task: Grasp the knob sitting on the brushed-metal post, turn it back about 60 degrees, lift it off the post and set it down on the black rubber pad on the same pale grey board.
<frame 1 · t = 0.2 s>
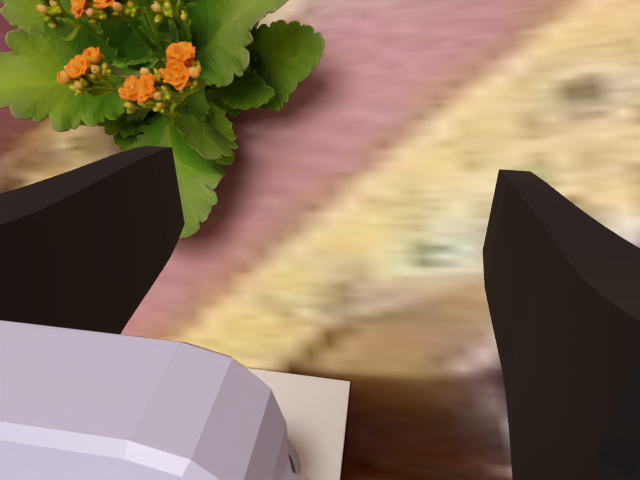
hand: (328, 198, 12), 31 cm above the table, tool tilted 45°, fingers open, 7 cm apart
potted flower: (181, 89, 49), on the table
board: (208, 465, 41), on the table
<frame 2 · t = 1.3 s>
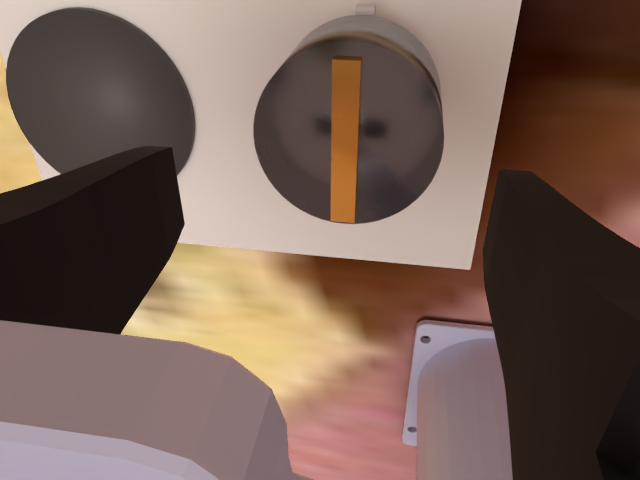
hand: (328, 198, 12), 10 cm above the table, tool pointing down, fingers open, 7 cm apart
board: (244, 88, 22), on the table
knob: (359, 99, 17), point 4 cm above the table, touching board
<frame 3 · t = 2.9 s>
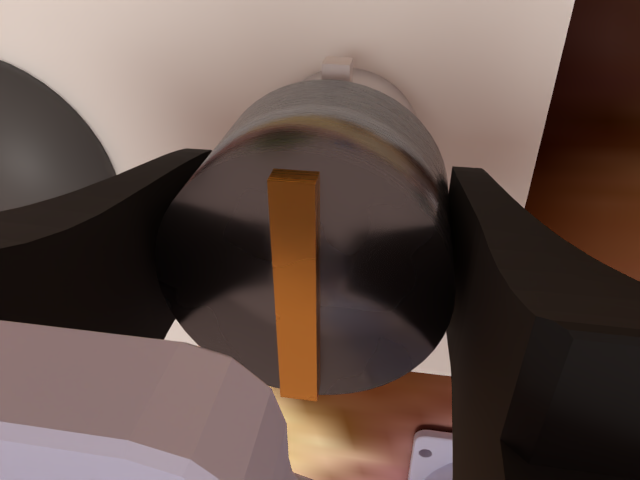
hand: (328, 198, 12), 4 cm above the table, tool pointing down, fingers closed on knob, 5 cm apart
board: (184, 154, 16), on the table
knob: (329, 194, 12), point 4 cm above the table, touching board, gripper
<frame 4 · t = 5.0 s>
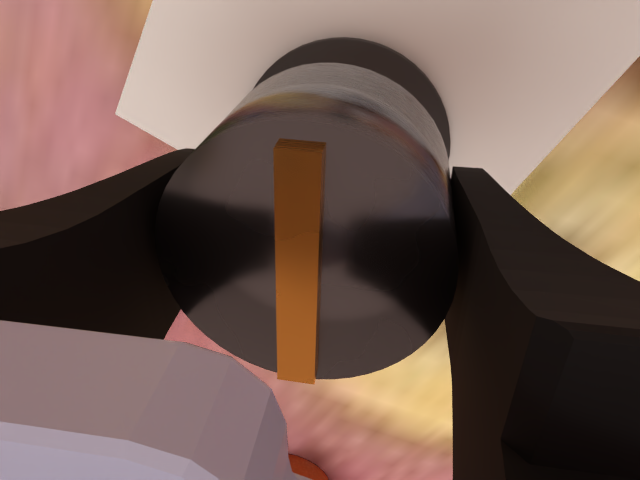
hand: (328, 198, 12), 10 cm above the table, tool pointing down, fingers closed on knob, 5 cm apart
knob: (330, 180, 12), point 9 cm above the table, touching gripper
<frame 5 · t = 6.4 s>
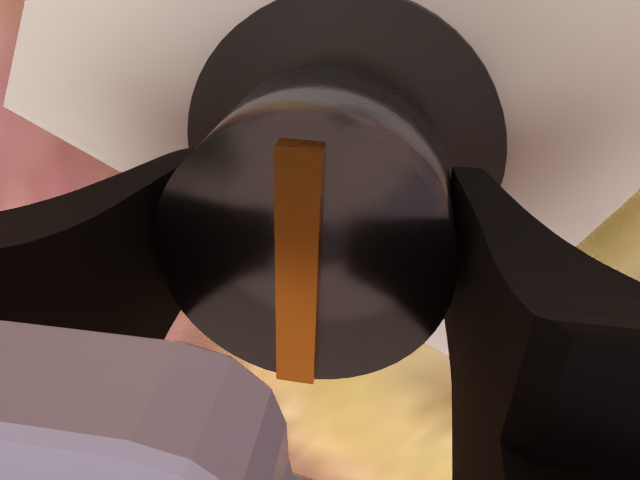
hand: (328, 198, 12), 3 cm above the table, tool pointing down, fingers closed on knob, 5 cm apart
knob: (330, 181, 12), point 3 cm above the table, touching gripper
when the fingers open (3 cm above the table, at t = 7.4 s): knob drops 1 cm, resting on board.
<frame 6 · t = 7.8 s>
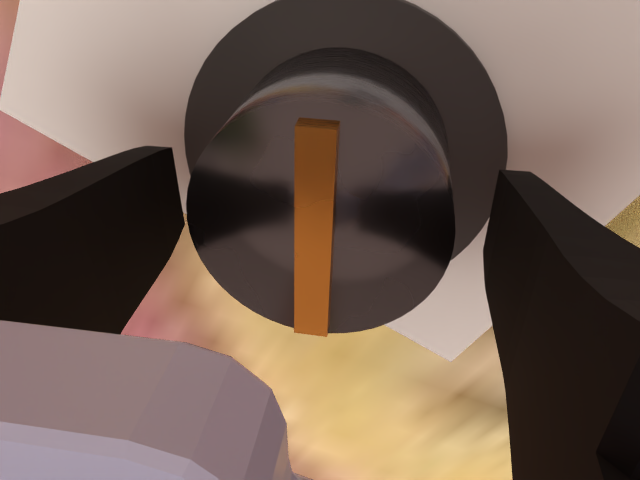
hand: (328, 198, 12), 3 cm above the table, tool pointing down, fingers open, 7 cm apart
knob: (339, 156, 13), point 1 cm above the table, touching board
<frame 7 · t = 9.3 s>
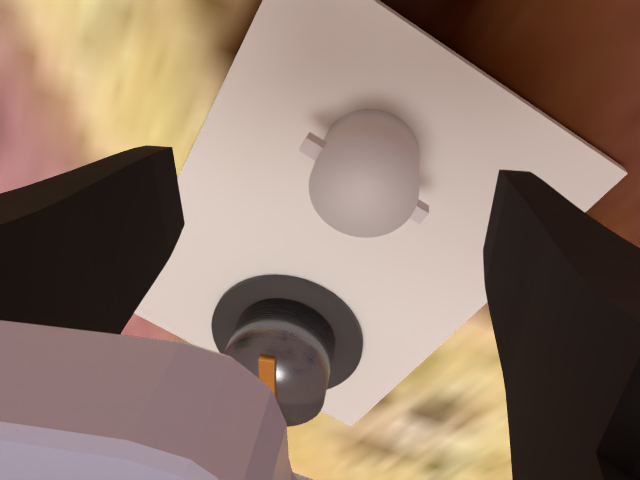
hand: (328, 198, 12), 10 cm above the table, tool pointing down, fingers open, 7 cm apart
board: (330, 243, 25), on the table
knob: (285, 337, 28), point 1 cm above the table, touching board
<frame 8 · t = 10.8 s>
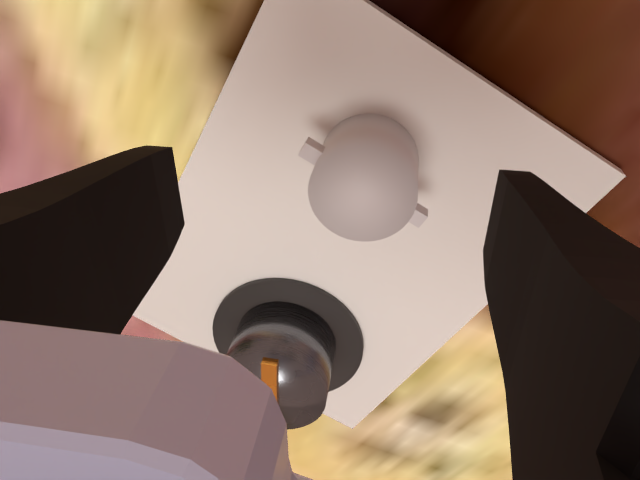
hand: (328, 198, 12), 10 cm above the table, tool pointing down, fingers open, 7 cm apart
board: (330, 246, 25), on the table
knob: (286, 340, 28), point 1 cm above the table, touching board
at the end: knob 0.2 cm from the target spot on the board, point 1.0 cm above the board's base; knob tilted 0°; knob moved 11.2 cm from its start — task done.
